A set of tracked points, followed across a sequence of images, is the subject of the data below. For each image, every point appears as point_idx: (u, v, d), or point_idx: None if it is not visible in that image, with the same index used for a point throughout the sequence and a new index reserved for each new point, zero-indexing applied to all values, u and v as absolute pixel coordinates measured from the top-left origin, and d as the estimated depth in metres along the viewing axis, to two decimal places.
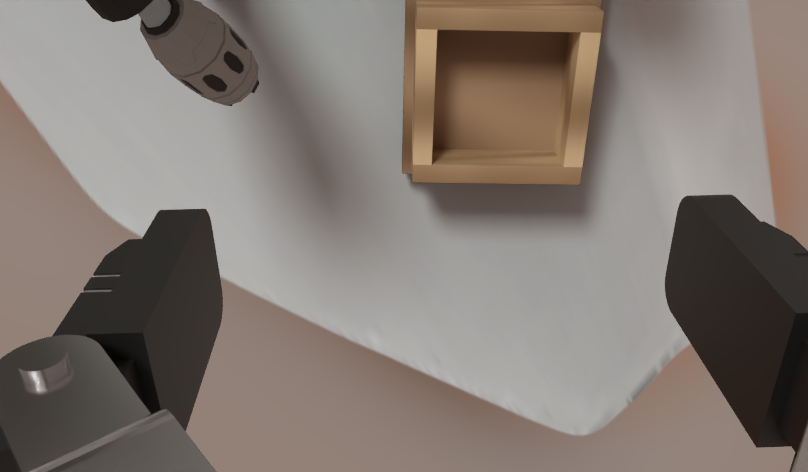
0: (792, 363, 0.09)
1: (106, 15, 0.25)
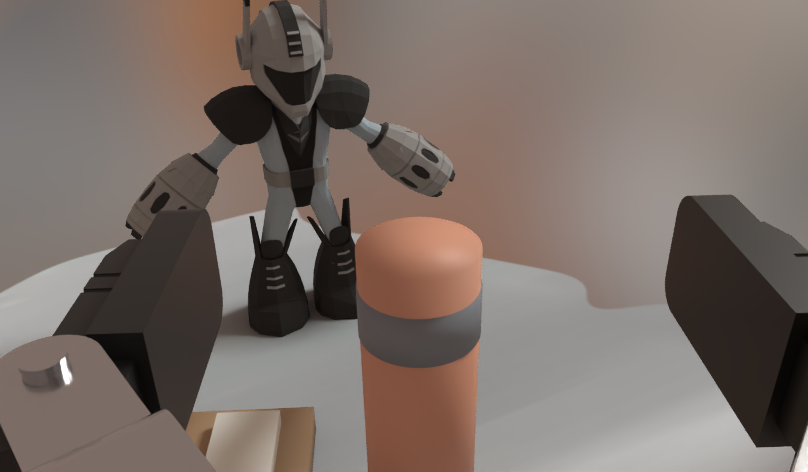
0: (792, 363, 0.09)
1: None
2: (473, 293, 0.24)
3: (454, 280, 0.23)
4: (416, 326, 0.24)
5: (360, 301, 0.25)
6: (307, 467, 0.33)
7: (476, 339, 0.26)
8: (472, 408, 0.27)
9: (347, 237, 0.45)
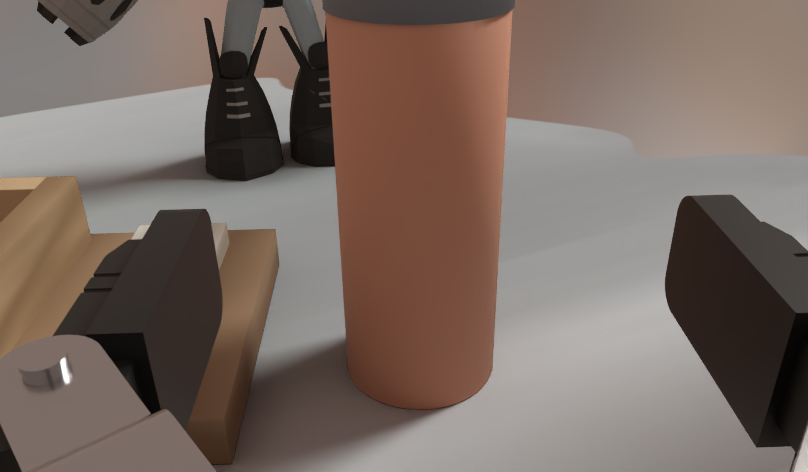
0: (792, 363, 0.09)
1: None
2: None
3: None
4: None
5: None
6: (259, 287, 0.23)
7: (509, 1, 0.16)
8: (499, 139, 0.17)
9: None
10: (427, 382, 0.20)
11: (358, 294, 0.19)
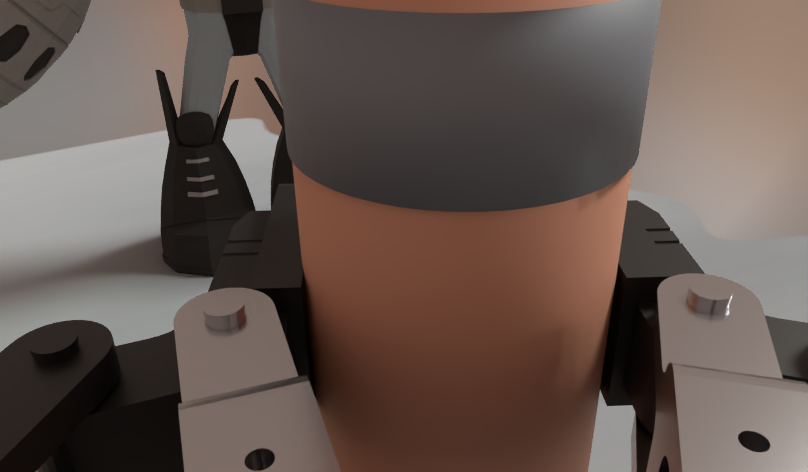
0: (629, 325, 0.10)
1: None
2: None
3: None
4: (465, 45, 0.07)
5: (279, 1, 0.08)
6: None
7: (637, 145, 0.08)
8: (601, 365, 0.10)
9: None
10: None
11: None
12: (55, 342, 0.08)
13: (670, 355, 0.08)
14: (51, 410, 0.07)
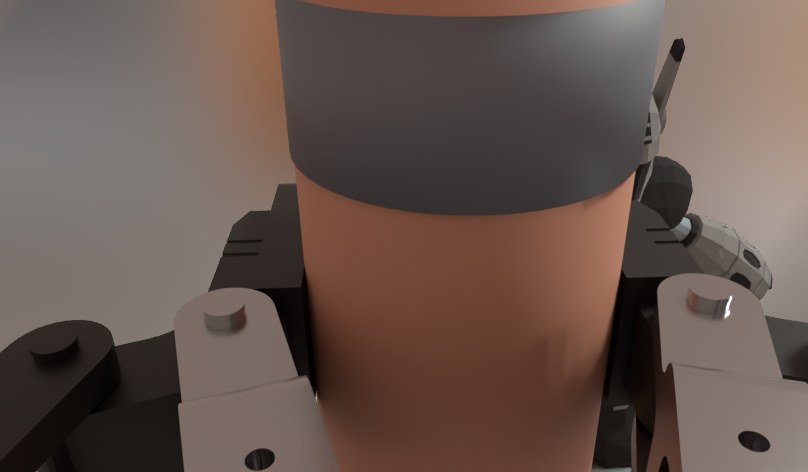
0: (629, 325, 0.10)
1: None
2: None
3: None
4: (469, 48, 0.07)
5: (282, 5, 0.08)
6: None
7: (641, 148, 0.08)
8: (604, 368, 0.10)
9: None
10: None
11: None
12: (55, 342, 0.08)
13: (670, 355, 0.08)
14: (51, 410, 0.07)
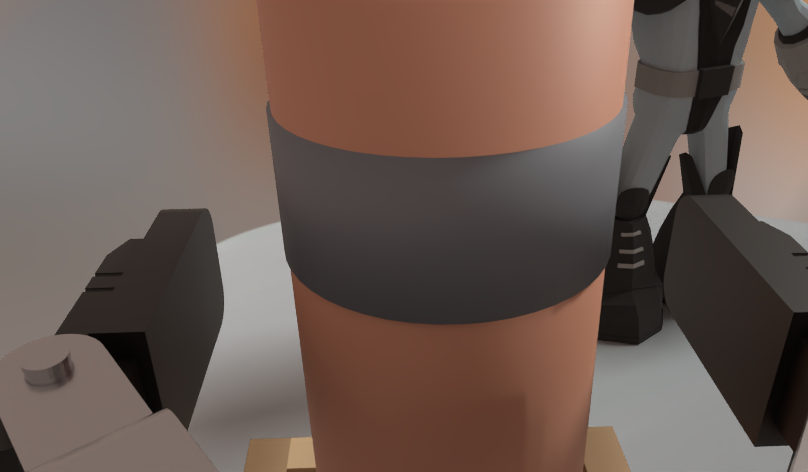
0: (790, 362, 0.09)
1: None
2: (614, 92, 0.08)
3: (569, 14, 0.07)
4: (441, 183, 0.07)
5: (274, 131, 0.08)
6: None
7: (608, 249, 0.09)
8: (583, 442, 0.11)
9: None
10: None
11: None
12: None
13: None
14: None
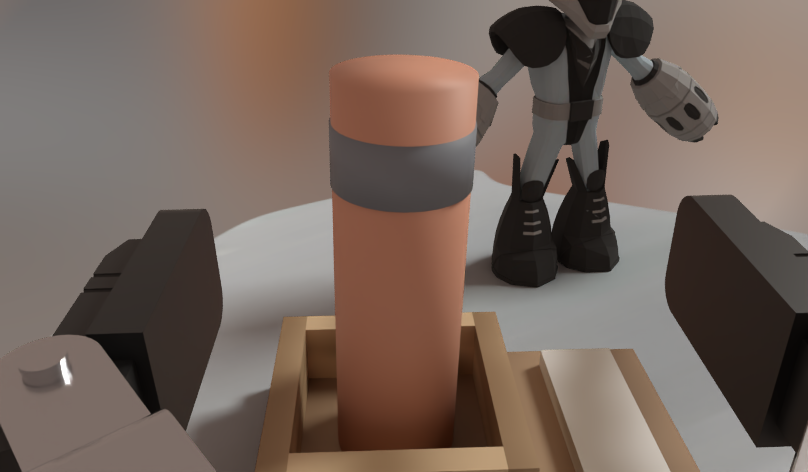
0: (792, 363, 0.09)
1: None
2: (466, 125, 0.21)
3: (445, 98, 0.20)
4: (398, 156, 0.20)
5: (333, 133, 0.21)
6: (663, 407, 0.29)
7: (467, 189, 0.22)
8: (459, 281, 0.23)
9: (601, 183, 0.42)
10: None
11: (348, 389, 0.25)
12: None
13: None
14: None
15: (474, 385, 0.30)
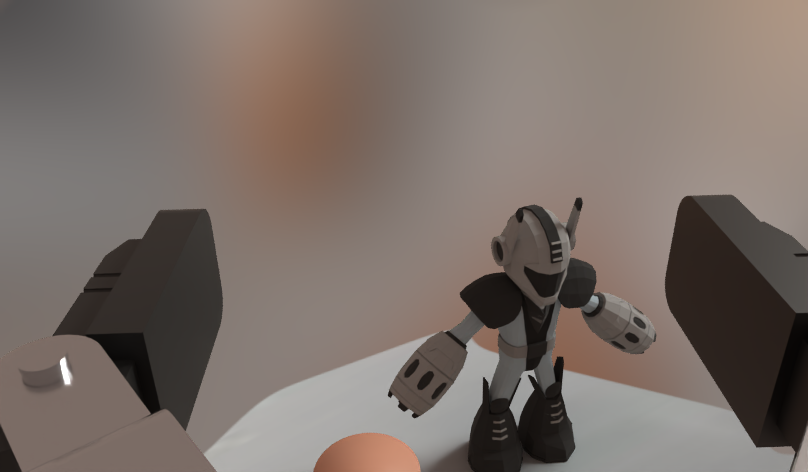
0: (792, 363, 0.09)
1: (463, 289, 0.45)
2: None
3: None
4: None
5: None
6: None
7: None
8: None
9: (559, 390, 0.50)
10: None
11: None
12: None
13: None
14: None
15: None
